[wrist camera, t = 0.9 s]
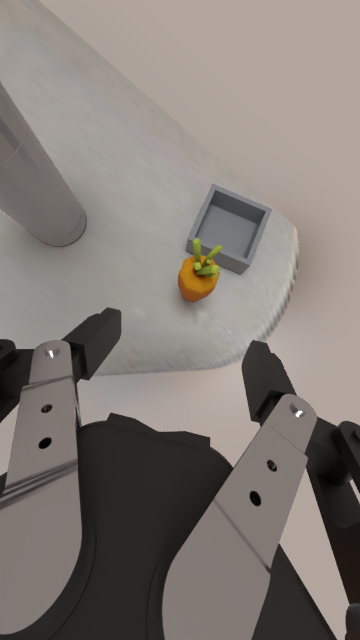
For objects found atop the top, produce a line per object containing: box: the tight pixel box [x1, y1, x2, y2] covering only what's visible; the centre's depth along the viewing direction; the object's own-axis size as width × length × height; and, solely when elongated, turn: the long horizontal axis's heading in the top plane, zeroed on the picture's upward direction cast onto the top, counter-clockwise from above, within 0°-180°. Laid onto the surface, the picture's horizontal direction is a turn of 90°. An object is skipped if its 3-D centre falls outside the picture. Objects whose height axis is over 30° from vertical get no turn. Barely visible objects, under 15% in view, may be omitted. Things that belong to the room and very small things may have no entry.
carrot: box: [178, 239, 222, 302], centre depth 25 cm, size 5×5×15 cm
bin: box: [186, 184, 272, 275], centre depth 32 cm, size 11×11×4 cm
